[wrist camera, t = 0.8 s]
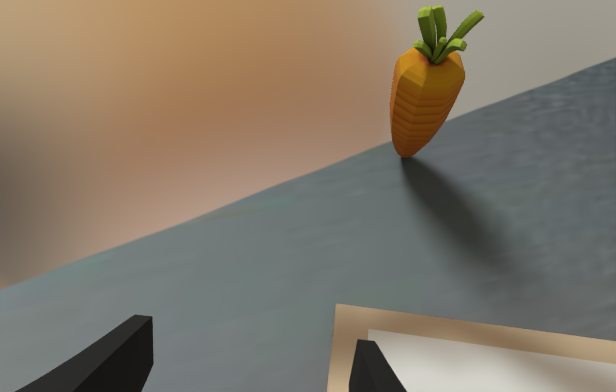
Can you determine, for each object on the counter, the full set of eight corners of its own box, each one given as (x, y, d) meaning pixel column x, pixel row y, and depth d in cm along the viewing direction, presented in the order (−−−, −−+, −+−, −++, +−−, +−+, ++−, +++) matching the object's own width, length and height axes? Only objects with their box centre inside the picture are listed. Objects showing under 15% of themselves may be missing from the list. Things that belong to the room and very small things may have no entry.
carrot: (435, 144, 34) (500, -10, 21) (422, 184, 32) (484, 39, 19) (387, 130, 35) (419, -24, 22) (370, 167, 33) (396, 20, 20)
